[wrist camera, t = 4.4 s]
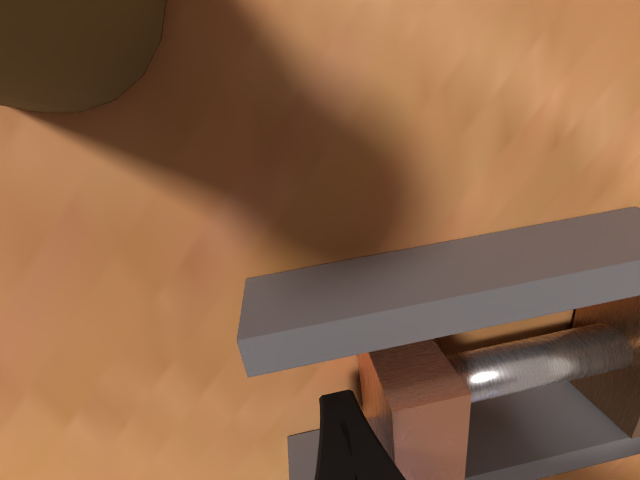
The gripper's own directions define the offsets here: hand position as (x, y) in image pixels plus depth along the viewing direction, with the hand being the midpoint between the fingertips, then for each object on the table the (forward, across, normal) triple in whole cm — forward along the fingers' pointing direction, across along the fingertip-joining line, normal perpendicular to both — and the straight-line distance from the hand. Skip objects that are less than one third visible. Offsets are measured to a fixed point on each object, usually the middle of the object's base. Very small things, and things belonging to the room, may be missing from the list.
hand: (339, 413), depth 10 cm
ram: (+2, -6, 0) cm, 6 cm away
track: (+2, -5, 0) cm, 5 cm away
